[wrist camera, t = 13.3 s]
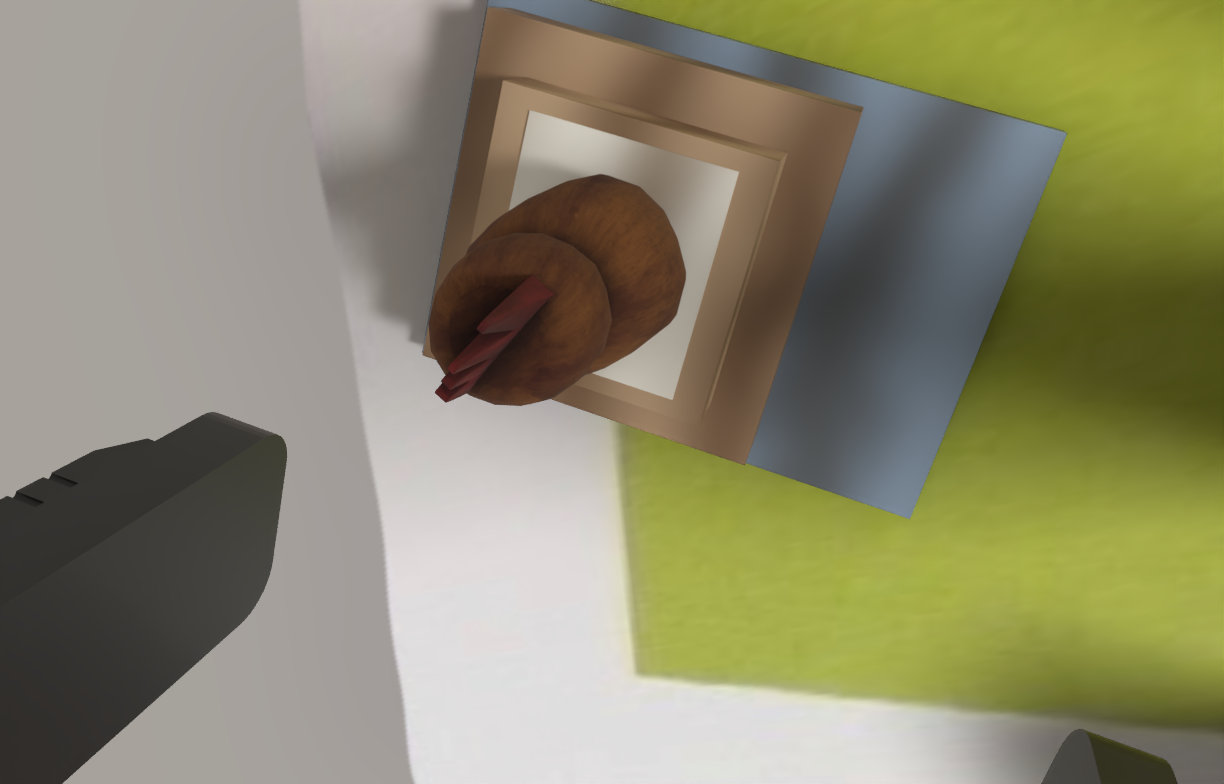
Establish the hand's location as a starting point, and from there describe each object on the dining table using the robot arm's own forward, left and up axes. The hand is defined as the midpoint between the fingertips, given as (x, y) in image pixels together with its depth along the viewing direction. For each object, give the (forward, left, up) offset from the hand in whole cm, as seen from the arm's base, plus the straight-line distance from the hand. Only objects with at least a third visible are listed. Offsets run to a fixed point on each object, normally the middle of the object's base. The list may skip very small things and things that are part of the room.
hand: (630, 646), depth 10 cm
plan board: (+4, +4, -33) cm, 34 cm away
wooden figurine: (+7, +4, -27) cm, 28 cm away
